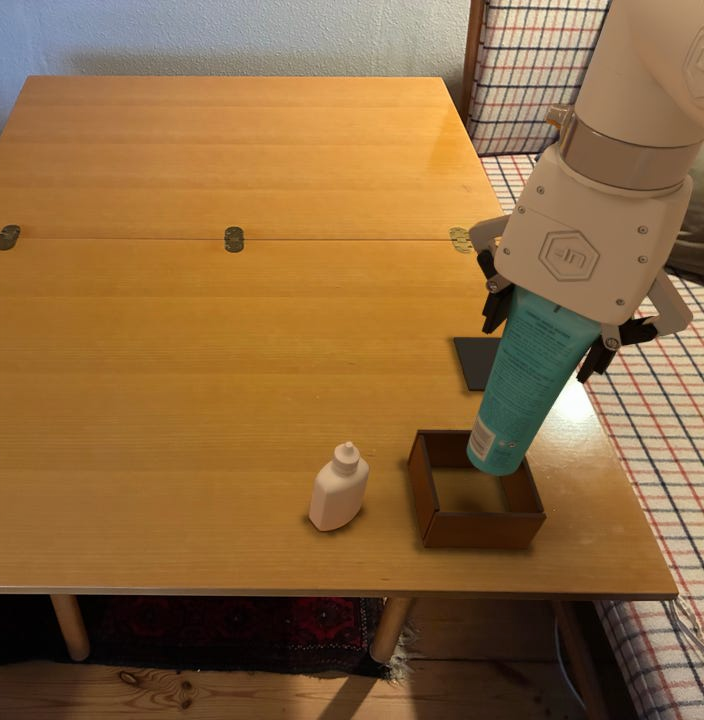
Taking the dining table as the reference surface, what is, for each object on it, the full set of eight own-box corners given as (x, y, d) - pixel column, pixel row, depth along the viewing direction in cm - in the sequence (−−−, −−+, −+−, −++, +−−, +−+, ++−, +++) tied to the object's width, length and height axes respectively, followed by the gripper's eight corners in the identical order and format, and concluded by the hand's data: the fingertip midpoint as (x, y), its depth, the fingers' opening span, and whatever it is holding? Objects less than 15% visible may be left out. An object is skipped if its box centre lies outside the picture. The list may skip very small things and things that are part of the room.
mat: (522, 339, 91) (523, 337, 90) (543, 391, 84) (544, 389, 84) (453, 339, 91) (453, 336, 90) (468, 390, 84) (469, 388, 84)
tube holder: (500, 463, 77) (517, 430, 73) (527, 548, 70) (547, 517, 65) (406, 462, 77) (417, 429, 73) (423, 547, 70) (436, 515, 66)
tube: (540, 464, 65) (621, 309, 52) (513, 494, 63) (591, 341, 49) (471, 420, 69) (530, 266, 56) (443, 447, 67) (498, 293, 53)
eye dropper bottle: (305, 496, 74) (315, 426, 65) (357, 494, 74) (374, 424, 66) (310, 533, 71) (322, 465, 62) (364, 530, 71) (384, 462, 63)
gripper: (472, 122, 46) (420, 321, 58) (761, 225, 37) (628, 433, 50) (526, 86, 50) (467, 280, 62) (800, 172, 41) (667, 378, 54)
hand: (539, 347), depth 56 cm, fingers closed on tube, 7 cm apart
